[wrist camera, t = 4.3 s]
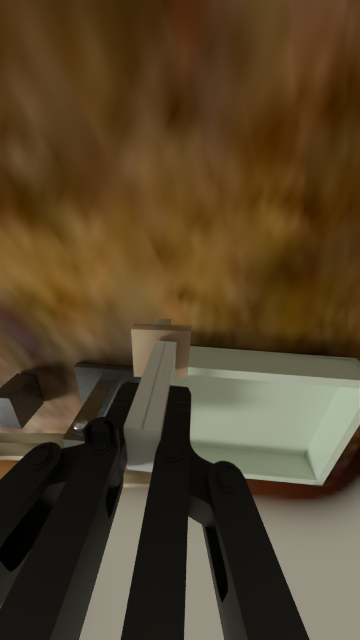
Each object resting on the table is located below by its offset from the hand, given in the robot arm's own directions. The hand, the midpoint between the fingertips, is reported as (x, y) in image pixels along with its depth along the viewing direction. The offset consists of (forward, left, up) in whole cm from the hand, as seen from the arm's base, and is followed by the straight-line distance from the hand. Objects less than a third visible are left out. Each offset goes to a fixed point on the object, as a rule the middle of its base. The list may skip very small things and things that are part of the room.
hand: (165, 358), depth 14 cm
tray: (+9, -13, -9) cm, 19 cm away
